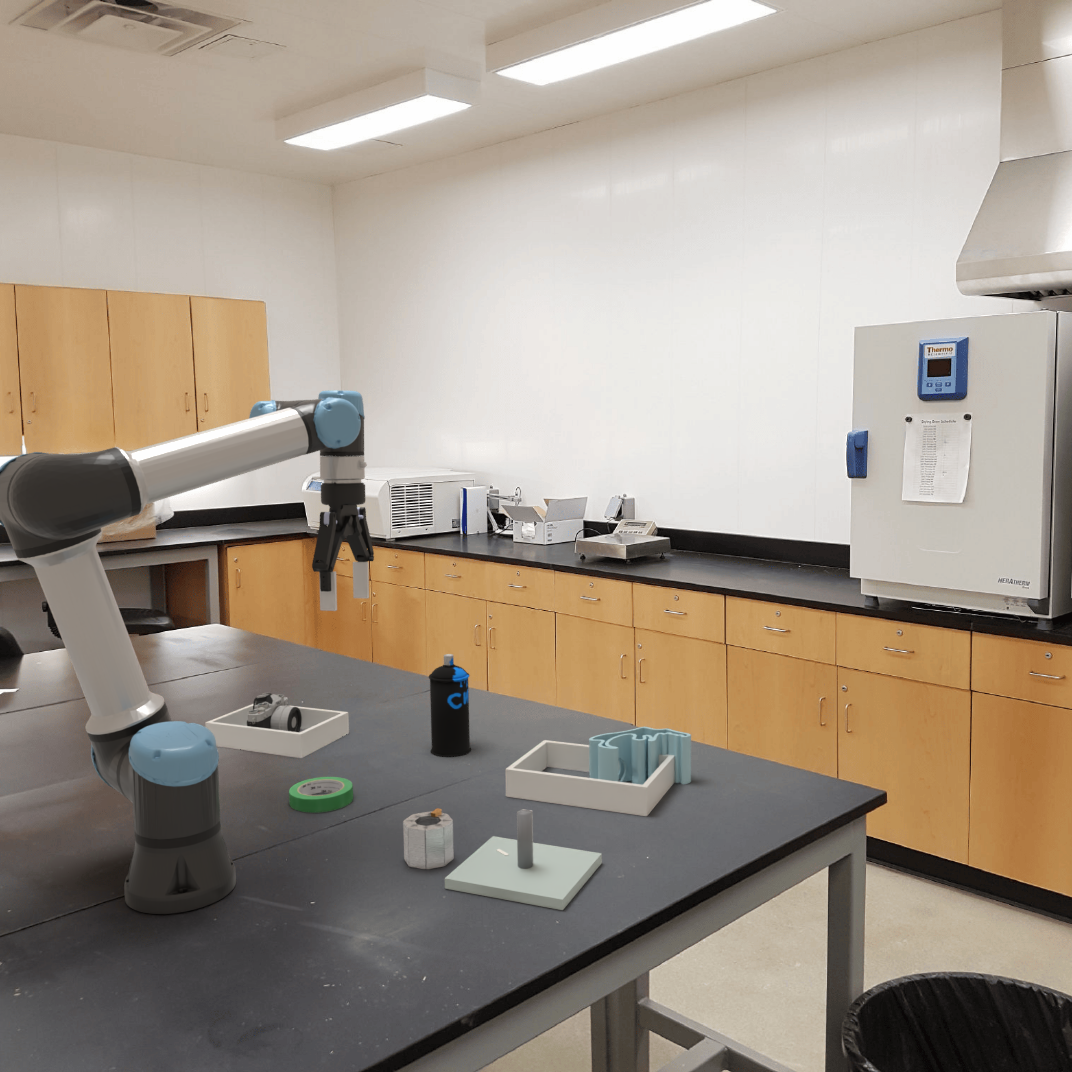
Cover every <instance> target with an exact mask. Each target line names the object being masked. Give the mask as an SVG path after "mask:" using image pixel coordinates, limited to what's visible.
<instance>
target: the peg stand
mask: <svg viewBox="0 0 1072 1072" xmlns="http://www.w3.org/2000/svg"><path fill="white" fill-rule="evenodd" d="M533 822H534V818H533V810H531V809H524V808H522V809H520V810H518V811H516V839H512V838H507V837H506V838H505V837H501V836H496V835H493V836H491V837H490V838H489V839H488V840H486V842H485V843H483V844H482V845H481V846H480V847H478V849H476V850H475V851H474V852H473V853H472V854H470V855H469V857H467V858H466V859H465V860H464V861H462V863H460V864H459V865H458V866H457V867H456V868H455V869H453V870H452V871H451V872H450V873H449V874H448V875H447V876H445V877H444V889H446V890H450V891H457V892H461V893H468V894H472V895H479V896H483V897H484V896H485V897H487V898H488V897H489V898H494V899H499V900H505V901H511V902H516V903H521V904H526V905H531V906H532V905H533V906H537V907H538V906H539V907H542V908H543V907H544V908H548V909H549V908H550V909H553V910H559V911H563V910H564V909H565V908H566V907H567V906H568V904H569V903H570V902H571V901H572V900H573V898H574V897H576V895H577V894H578V893H579V891H580V890H581V889H582V888H583V886H584V885H585V884H586V883H587V882H588V881H589V880H590V878H591V877H592V875H594V873H595V872H596V871H597V870H598V868H599V867H600V866H601V865H602V864H603V862H602V861H603V857H602V856H603V855H602V852H595V851H588V850H582V849H576V848H570V847H563V846H557V845H550V844H545V843H539V842H534V824H533Z"/></svg>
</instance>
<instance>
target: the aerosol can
mask: <svg viewBox="0 0 1072 1072" xmlns="http://www.w3.org/2000/svg"><path fill="white" fill-rule="evenodd" d="M454 658H455V657H454V654H453V653H447V654H443V664H442V665H441V666H438V667H436V668H434V670H433V671H432V672H431V673H430V674H429V675H428V679H429V690H430V691H429V692H430V693H429V694H430V695H429V696H430V699H429V700H430V727H431V729H430V730H431V731H430V733H431V735H430V736H431V737H430V738H431V748H430V754H431V755H433V756H436V757H440V758H457V757H458V758H459V757H463V756H466V755H467V754H469V753H471V752H472V748H471V746H470V745H471V743H470V741H471V740H470V738H471V737H470V735H471V734H470V700H469V699H470V697H469V696H470V695H469V694H470V693H469V679H470V676H471V675H470V674H469V672H467V671H466V670H465V669H464V668H463V667H462V666H459V665H456V664H455V663H454Z"/></svg>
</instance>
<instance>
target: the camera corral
mask: <svg viewBox="0 0 1072 1072" xmlns="http://www.w3.org/2000/svg"><path fill="white" fill-rule="evenodd" d="M288 706H290V707H298V708H299V709H300V711H301V716H302V723H301V728H300V730H302V731H299V732H291V731H283V730H275V729H267V728H259V727H251V726H247V720H248V713H249V711H250V710H253V703H251V704H249V705H246V706H244V707H242V708H238V709H236V710H234V711H231V712H229V713H226V714H224V715H221V716H218V717H216V718H214V719H211V720H208V721H205V722H204V723H205V725H204V727H206V728H208V729H209V730H210V731H211V732H212V733H213V735H214V737H215V740H216V747H217V748H218V747H219V748H220V747H221V748H227V749H234V750H240V749H241V751H247V752H248V751H249V752H254V753H261V754H270V755H277V756H282V757H291V758H298V759H299V758H300V759H303V758H305V757H306V756H308V755H310V754H312V753H314V752H316V751H318V750H320V749H322V748H324V747H326V746H327V745H329V744H332V743H333V742H335V741H337V740H339V739H342V738H343V737H345V736H347V735H348V734H350V721H349V719H350V718H349V711H341V710H331V709H322V708H314V707H303V706H295V705H289V704H288ZM346 734H347V735H346ZM342 736H343V737H342Z"/></svg>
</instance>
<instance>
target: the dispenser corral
mask: <svg viewBox="0 0 1072 1072" xmlns="http://www.w3.org/2000/svg"><path fill="white" fill-rule="evenodd" d="M546 768H553V769H554V768H555V769H562V770H570V771H578V772H585V773H589V744H582V743H581V744H580V743H575V742H574V743H573V742H563V741H554V740H548V739H544V740H542V741H541V742H540V743H539V744H537V745H536V746H534V747H533V748H531V749H530V750H529V751H528V752H526V753H525V754H524V755H522V756H521V757H520V758H518V759H517V760H515V761H514V762H513V763H512V764H510V765H508V767H506V768H505V797H507V798H514V799H521V800H527V801H534V802H542V803H549V804H550V803H551V804H558V805H564V806H571V807H577V808H585V809H590V810H591V809H593V810H600V811H606V812H613V813H621V814H628V815H634V816H635V815H636V816H641V817H648V816H649V814H650V813H651V812H652V811H653V810H654V808H655V807H656V806H657V804H659V802H660V801H661V800H662V799H663V797H664V796H665V795H666V793H667V792H668V791H669V790H670V788H672V786H673V785H674V784H675V755H668V754H666V755H661V754H659V767H658V768H657V769H656V771H655V772H654V773H653V774H652V775H651V776H650V777H649V778H648V779H647V781H646V782H645V783H644V784H643V785H641V784H633V783H632V782H620V781H618V782H617V781H609V780H602V779H594V778H589V777H586V776H585V777H584V776H576V775H570V774H563V773H555V772H554V773H553V772H546V771H544V770H546Z"/></svg>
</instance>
